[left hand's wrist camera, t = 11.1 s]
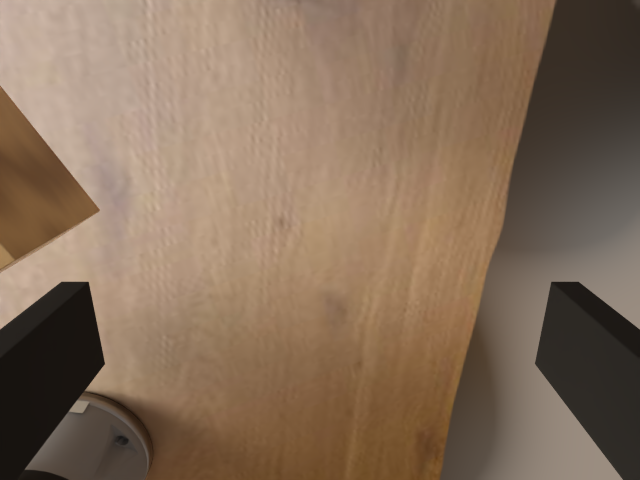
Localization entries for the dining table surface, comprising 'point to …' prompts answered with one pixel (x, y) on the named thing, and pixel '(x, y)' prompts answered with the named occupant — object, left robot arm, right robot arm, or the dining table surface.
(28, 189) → the bar
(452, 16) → the dining table surface
